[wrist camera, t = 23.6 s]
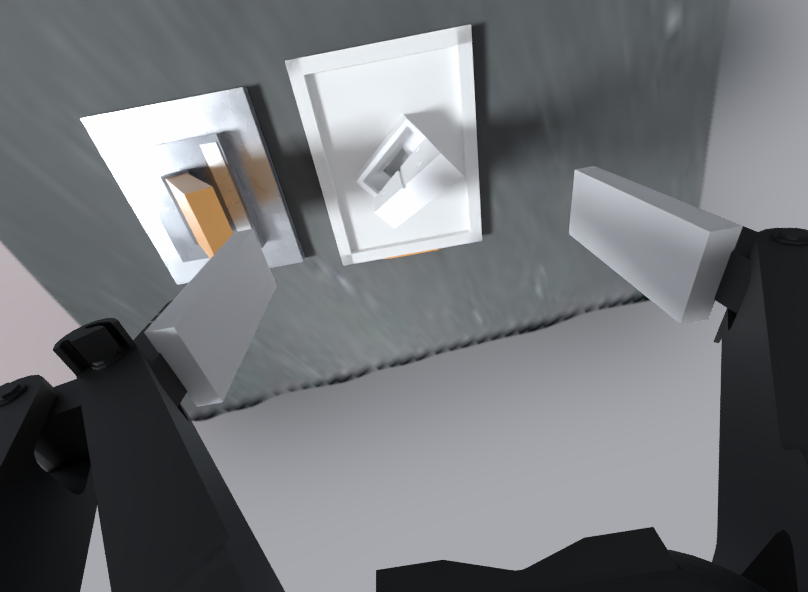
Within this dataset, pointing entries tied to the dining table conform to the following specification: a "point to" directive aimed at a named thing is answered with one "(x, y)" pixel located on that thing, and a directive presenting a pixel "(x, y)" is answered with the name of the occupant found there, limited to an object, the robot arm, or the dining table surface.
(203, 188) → the block
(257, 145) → the panel
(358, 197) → the tray
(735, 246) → the robot arm
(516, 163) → the dining table surface
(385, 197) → the white wedge bracket
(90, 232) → the dining table surface
